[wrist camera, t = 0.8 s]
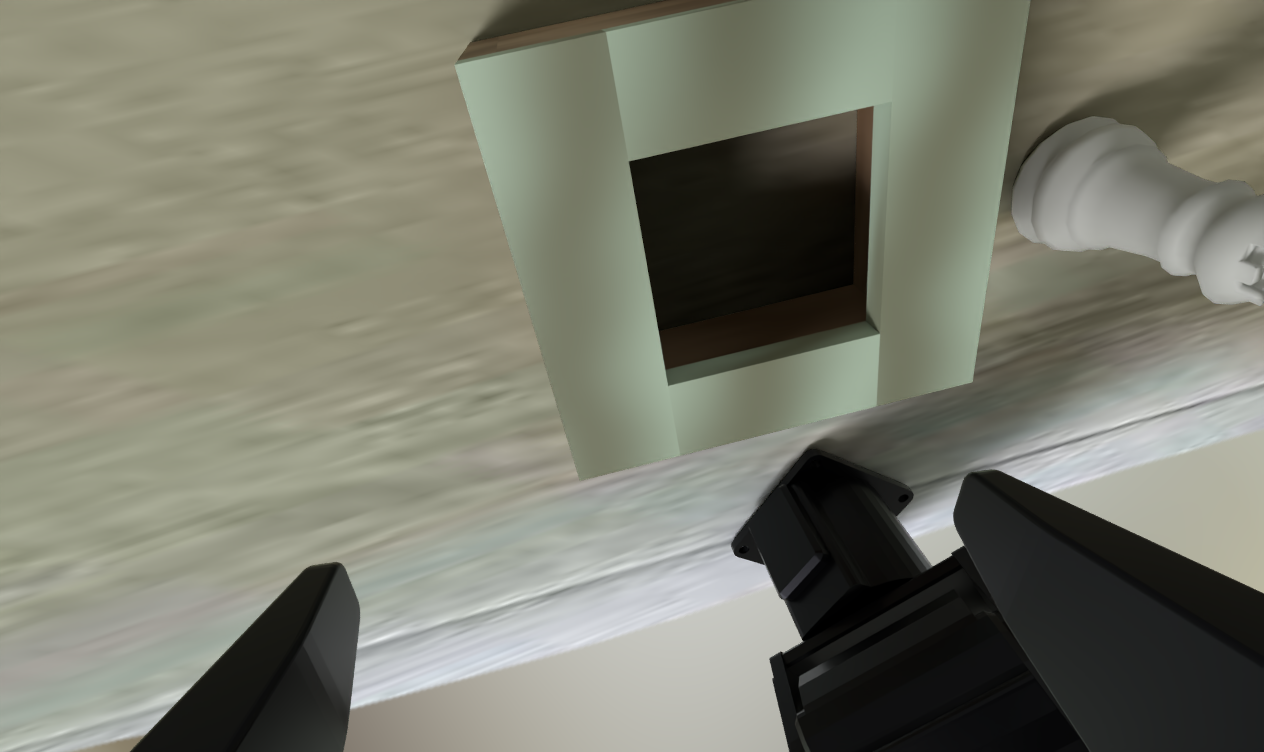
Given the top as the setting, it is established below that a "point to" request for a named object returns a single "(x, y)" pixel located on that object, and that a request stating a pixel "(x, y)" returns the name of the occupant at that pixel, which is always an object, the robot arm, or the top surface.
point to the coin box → (726, 108)
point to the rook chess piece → (1141, 208)
